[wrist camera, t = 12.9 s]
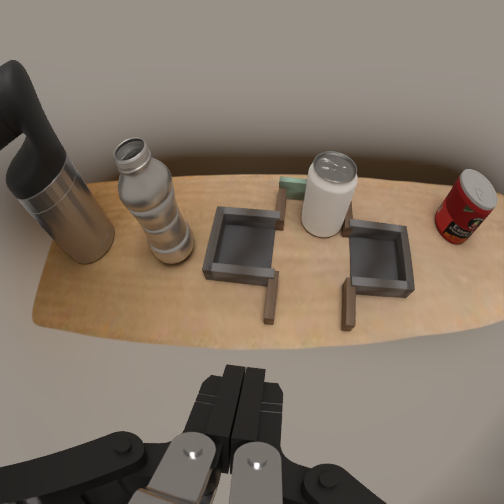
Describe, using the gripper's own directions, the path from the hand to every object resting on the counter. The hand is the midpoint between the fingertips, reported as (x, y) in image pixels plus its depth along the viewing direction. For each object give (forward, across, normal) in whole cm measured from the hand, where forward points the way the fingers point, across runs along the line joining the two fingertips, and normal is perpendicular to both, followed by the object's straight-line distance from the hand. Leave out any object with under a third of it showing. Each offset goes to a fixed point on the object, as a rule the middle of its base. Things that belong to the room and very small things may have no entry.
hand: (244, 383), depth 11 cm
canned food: (+39, -32, -2) cm, 50 cm away
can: (+37, -7, 0) cm, 38 cm away
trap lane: (+32, -6, +4) cm, 33 cm away
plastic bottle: (+32, +14, +5) cm, 35 cm away
